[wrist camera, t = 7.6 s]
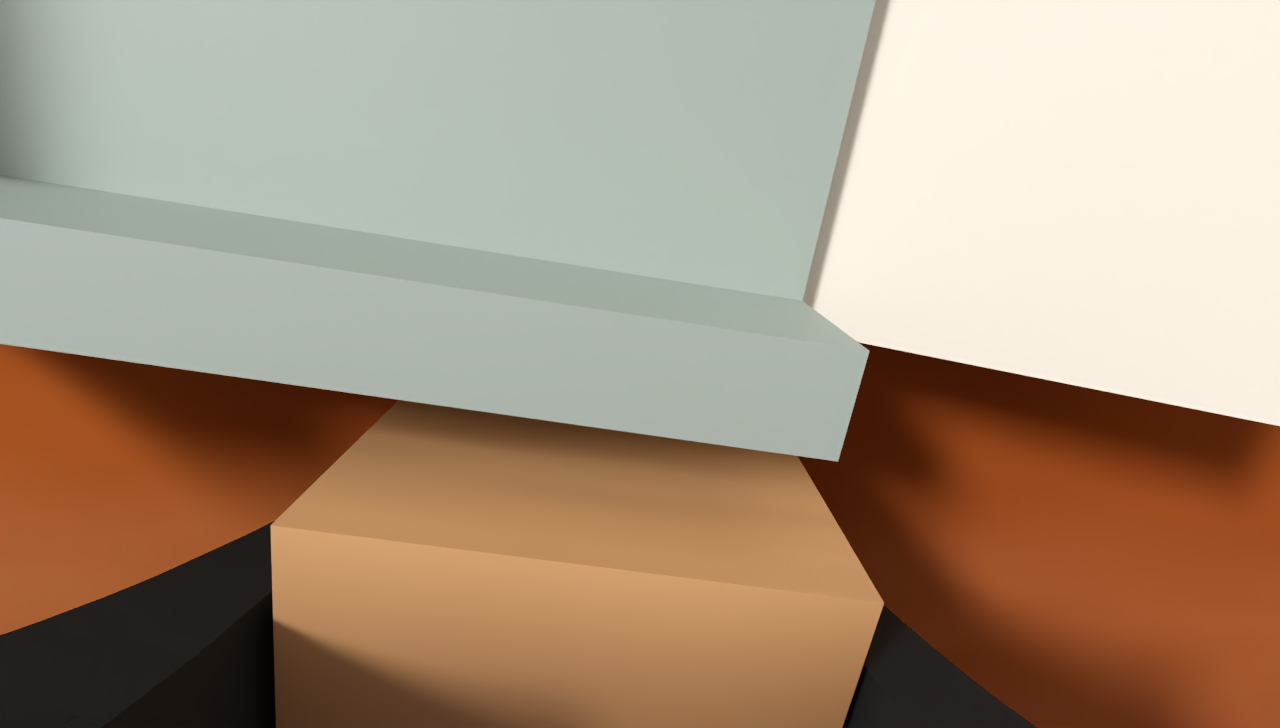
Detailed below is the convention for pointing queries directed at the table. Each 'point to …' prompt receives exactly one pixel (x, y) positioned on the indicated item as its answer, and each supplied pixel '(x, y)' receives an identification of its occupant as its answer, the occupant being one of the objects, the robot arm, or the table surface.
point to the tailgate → (1067, 195)
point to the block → (562, 583)
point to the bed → (442, 202)
